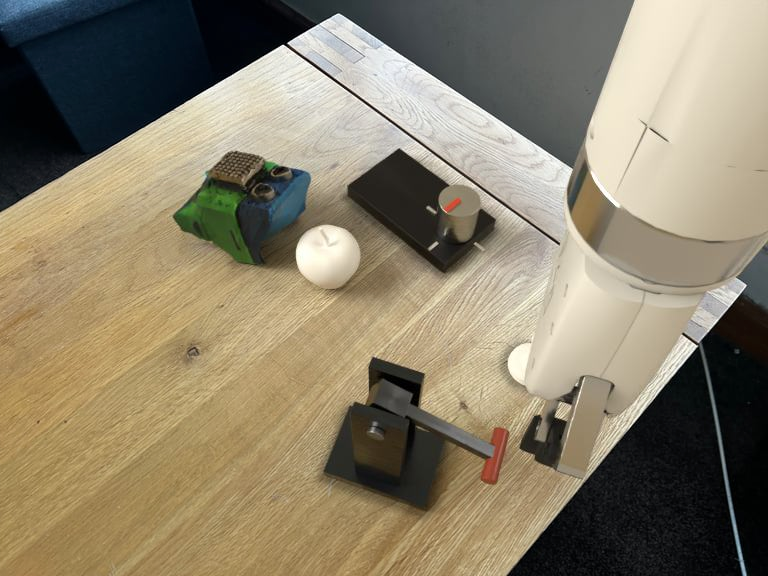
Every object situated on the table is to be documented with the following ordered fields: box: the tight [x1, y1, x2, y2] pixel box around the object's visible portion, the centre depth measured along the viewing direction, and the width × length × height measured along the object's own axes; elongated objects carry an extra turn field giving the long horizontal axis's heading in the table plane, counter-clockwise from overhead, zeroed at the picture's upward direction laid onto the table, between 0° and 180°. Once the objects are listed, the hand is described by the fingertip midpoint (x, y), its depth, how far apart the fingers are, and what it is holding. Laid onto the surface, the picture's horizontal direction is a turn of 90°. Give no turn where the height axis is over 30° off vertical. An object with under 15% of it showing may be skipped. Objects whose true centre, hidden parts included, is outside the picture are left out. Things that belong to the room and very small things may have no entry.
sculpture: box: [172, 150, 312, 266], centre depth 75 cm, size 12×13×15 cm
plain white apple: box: [295, 224, 361, 290], centre depth 72 cm, size 7×7×8 cm
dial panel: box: [346, 147, 497, 274], centre depth 79 cm, size 18×9×2 cm, turn 45°
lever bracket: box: [322, 356, 447, 511], centre depth 57 cm, size 10×7×16 cm
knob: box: [435, 184, 482, 244], centre depth 74 cm, size 5×5×5 cm
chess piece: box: [507, 334, 534, 387], centre depth 65 cm, size 5×5×10 cm
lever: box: [364, 378, 510, 486], centre depth 53 cm, size 12×4×2 cm, turn 71°
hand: (563, 379), depth 40 cm, fingers open, 9 cm apart
